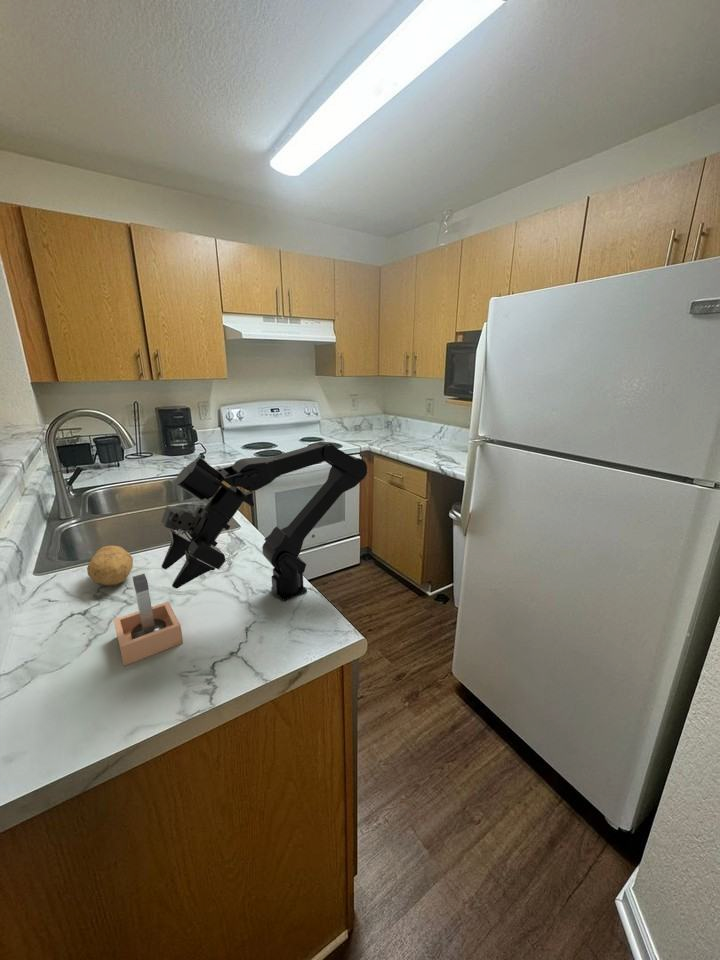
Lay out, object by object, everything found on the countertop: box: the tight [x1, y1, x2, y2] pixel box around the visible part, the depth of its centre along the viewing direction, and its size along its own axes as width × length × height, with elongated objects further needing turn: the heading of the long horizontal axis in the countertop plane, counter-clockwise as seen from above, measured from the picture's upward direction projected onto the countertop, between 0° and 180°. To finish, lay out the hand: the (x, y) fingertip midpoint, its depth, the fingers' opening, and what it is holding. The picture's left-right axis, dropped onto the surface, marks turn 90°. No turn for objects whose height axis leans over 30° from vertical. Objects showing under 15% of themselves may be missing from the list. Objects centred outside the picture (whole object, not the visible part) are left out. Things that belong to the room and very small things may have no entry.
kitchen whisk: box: [215, 539, 236, 568], centre depth 114 cm, size 6×34×6 cm, turn 45°
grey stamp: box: [131, 573, 166, 639], centre depth 74 cm, size 6×6×12 cm
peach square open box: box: [113, 601, 184, 667], centre depth 75 cm, size 10×10×4 cm
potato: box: [86, 545, 134, 586], centre depth 96 cm, size 10×14×8 cm
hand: (168, 577), depth 75 cm, fingers open, 9 cm apart
